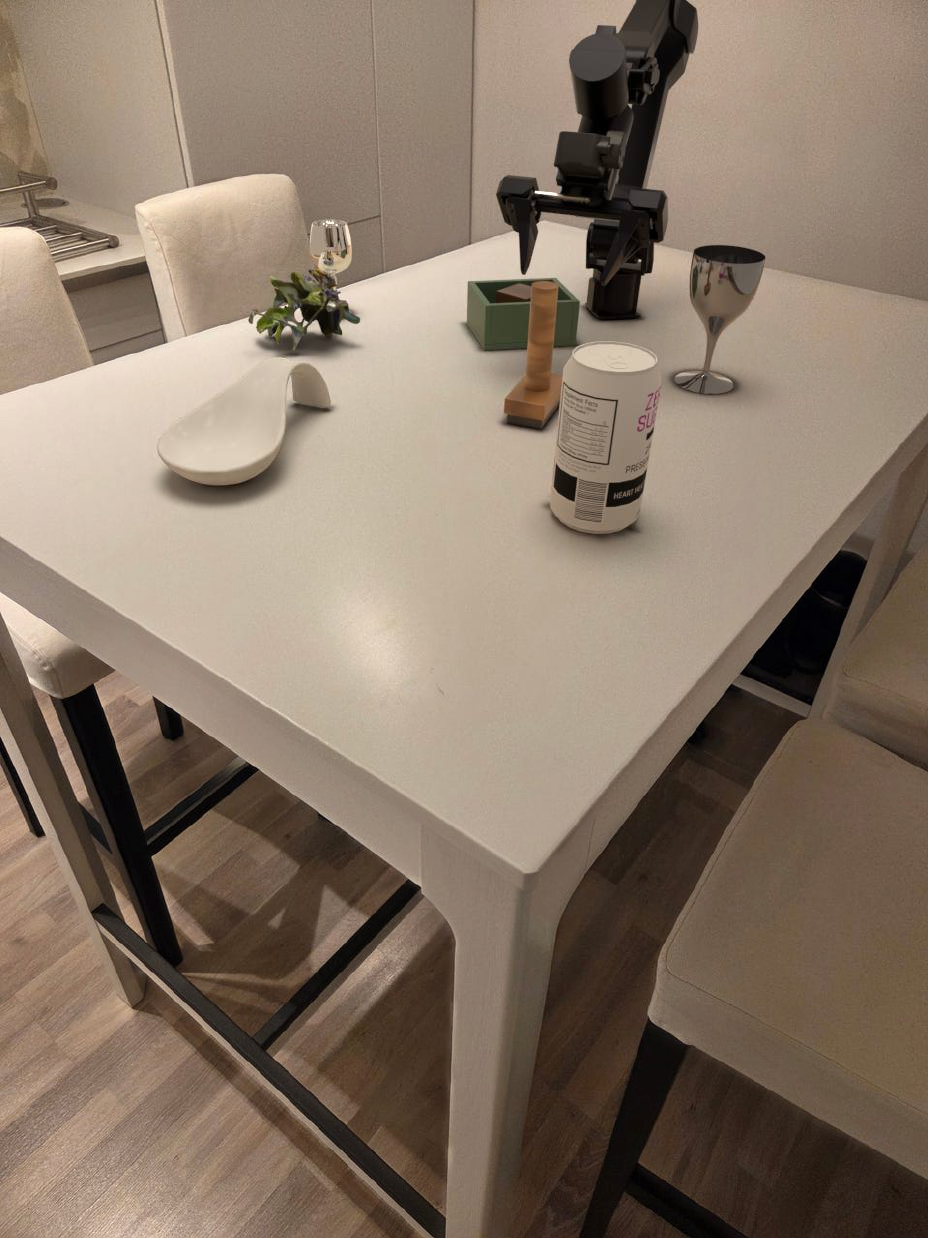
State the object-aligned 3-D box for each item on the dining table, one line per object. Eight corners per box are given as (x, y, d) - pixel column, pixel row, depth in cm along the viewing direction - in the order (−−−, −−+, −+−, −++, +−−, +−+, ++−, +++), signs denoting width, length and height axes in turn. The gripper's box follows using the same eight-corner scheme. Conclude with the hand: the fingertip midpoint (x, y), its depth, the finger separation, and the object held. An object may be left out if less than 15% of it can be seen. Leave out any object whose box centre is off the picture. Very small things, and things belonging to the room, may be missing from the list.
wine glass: (739, 375, 108) (767, 249, 99) (733, 399, 102) (763, 267, 93) (675, 366, 110) (697, 241, 101) (666, 389, 104) (689, 258, 95)
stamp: (565, 400, 101) (578, 275, 92) (542, 431, 94) (554, 300, 85) (528, 393, 102) (536, 270, 93) (502, 423, 95) (510, 294, 87)
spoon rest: (247, 512, 79) (237, 440, 74) (138, 489, 82) (122, 418, 77) (358, 412, 97) (355, 349, 92) (265, 396, 100) (258, 334, 95)
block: (517, 319, 120) (519, 282, 117) (545, 328, 118) (549, 290, 115) (494, 328, 117) (496, 290, 114) (523, 337, 115) (526, 299, 112)
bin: (552, 319, 123) (556, 277, 120) (575, 345, 115) (580, 301, 112) (466, 323, 121) (467, 280, 118) (483, 350, 113) (485, 305, 109)
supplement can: (542, 493, 83) (556, 338, 74) (626, 491, 83) (651, 338, 74) (557, 538, 76) (574, 375, 67) (648, 536, 77) (677, 374, 68)
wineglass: (359, 308, 125) (354, 219, 118) (351, 321, 121) (346, 229, 113) (320, 306, 125) (313, 217, 118) (310, 319, 121) (303, 227, 114)
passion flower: (329, 375, 119) (377, 307, 112) (289, 390, 109) (340, 316, 103) (268, 318, 118) (314, 245, 112) (224, 327, 109) (271, 249, 103)
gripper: (506, 90, 92) (466, 224, 90) (681, 103, 87) (643, 245, 85) (523, 161, 102) (488, 282, 101) (681, 176, 97) (646, 303, 96)
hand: (562, 277), depth 95 cm, fingers open, 9 cm apart
